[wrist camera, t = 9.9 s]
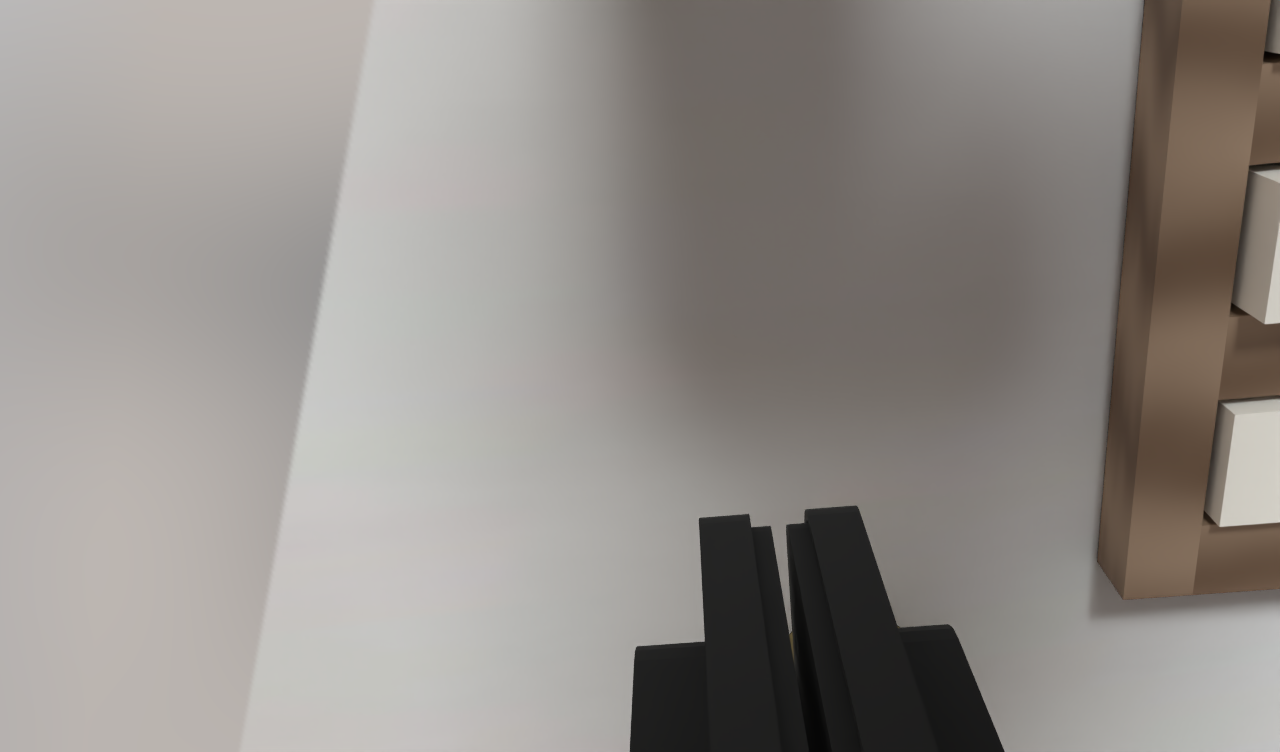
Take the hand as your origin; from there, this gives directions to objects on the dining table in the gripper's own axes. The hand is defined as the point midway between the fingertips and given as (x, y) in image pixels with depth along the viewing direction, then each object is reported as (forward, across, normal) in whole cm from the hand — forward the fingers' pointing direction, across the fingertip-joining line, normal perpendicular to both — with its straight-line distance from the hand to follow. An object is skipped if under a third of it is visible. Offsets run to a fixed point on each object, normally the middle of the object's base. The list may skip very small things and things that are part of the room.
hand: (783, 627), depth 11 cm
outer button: (+25, -19, +12) cm, 33 cm away
